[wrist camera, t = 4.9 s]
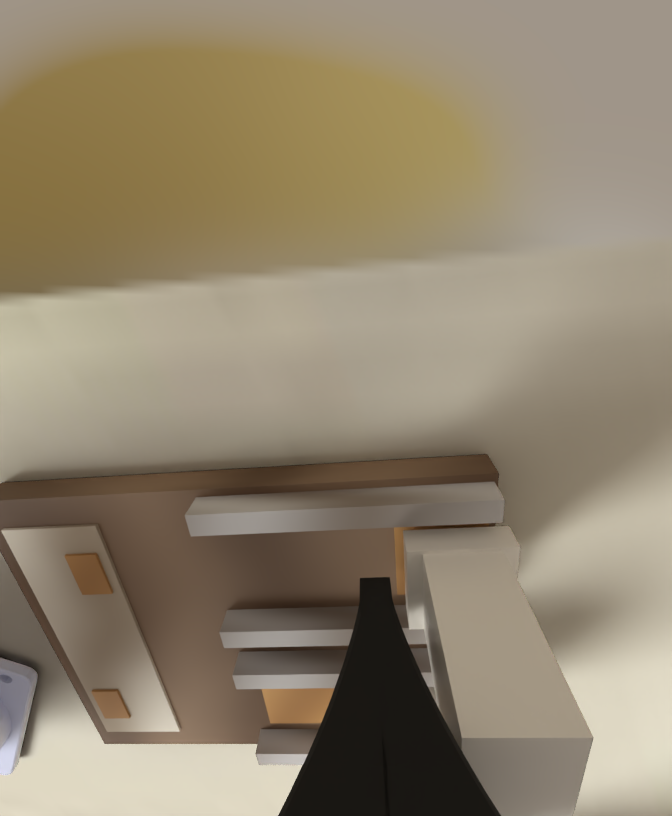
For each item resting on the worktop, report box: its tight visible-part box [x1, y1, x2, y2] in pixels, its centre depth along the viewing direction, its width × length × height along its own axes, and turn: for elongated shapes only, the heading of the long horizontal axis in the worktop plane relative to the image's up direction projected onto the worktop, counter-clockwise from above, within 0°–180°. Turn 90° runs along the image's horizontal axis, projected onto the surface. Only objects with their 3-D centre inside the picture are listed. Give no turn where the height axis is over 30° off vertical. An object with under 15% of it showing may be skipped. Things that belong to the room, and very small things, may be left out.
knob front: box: [403, 526, 593, 816], centre depth 9 cm, size 3×3×5 cm
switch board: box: [0, 454, 505, 765], centre depth 13 cm, size 15×12×2 cm
